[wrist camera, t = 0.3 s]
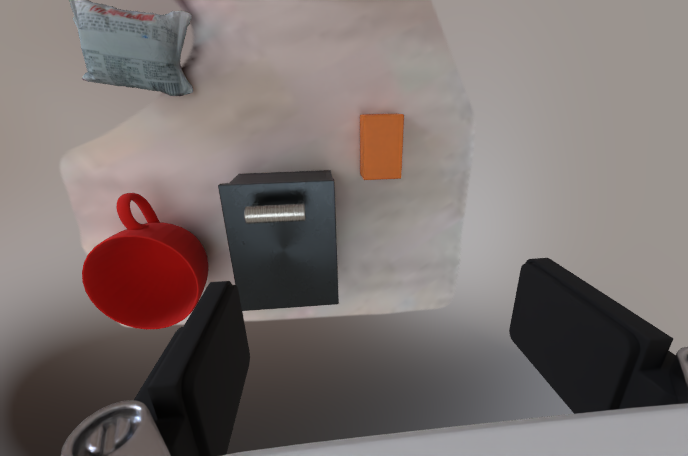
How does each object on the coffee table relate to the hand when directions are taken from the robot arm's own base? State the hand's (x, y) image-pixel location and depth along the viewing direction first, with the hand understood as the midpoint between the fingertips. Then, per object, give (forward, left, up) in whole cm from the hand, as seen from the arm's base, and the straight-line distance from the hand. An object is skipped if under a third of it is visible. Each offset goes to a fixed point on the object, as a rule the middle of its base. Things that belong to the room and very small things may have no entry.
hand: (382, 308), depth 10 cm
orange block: (-1, +7, -36) cm, 36 cm away
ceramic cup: (+11, -23, -36) cm, 44 cm away
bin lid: (+10, -7, -27) cm, 29 cm away
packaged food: (-13, -21, -36) cm, 44 cm away
